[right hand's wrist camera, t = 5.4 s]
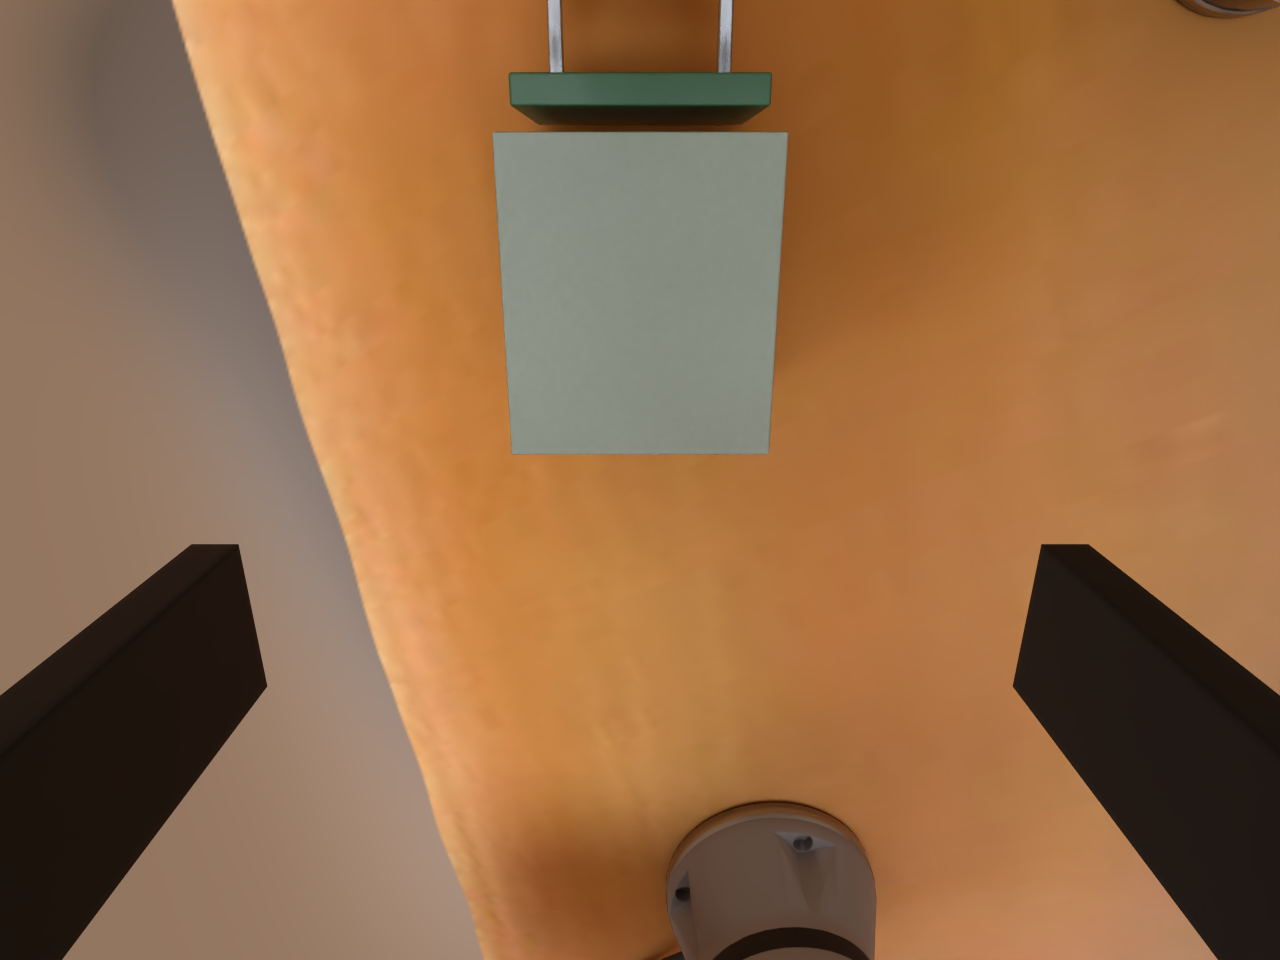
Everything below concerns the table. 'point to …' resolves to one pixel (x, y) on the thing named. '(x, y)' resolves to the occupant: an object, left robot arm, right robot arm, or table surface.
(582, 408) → the grey box
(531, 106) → the drawer
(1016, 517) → the table surface
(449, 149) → the table surface
